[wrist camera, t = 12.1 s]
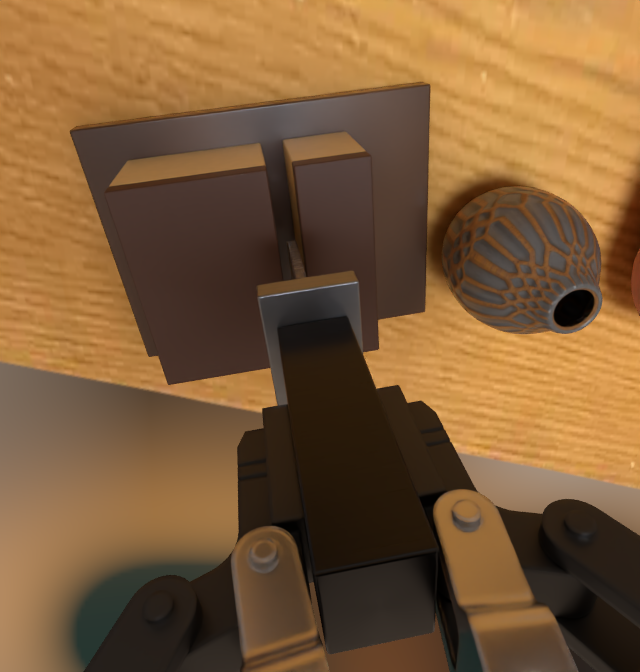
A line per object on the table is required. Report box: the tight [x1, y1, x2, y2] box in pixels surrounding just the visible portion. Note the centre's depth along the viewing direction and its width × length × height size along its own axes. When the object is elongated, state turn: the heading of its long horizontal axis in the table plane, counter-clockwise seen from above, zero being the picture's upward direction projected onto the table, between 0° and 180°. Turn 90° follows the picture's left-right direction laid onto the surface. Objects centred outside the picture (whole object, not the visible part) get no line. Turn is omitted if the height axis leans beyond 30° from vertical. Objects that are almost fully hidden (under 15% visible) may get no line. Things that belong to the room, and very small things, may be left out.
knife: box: [256, 241, 439, 654], centre depth 15 cm, size 3×5×14 cm, turn 6°
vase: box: [442, 186, 602, 334], centre depth 24 cm, size 7×7×9 cm
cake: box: [104, 143, 284, 385], centre depth 23 cm, size 6×9×5 cm, turn 6°
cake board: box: [70, 82, 430, 357], centre depth 26 cm, size 16×12×1 cm
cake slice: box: [282, 131, 379, 352], centre depth 23 cm, size 3×9×5 cm, turn 6°
